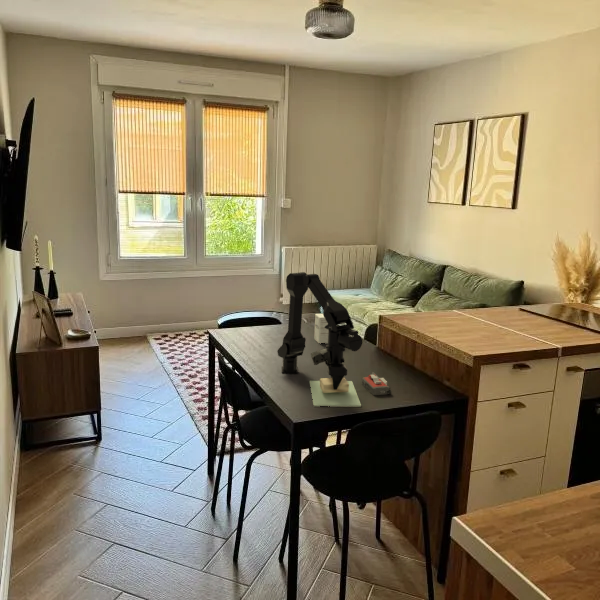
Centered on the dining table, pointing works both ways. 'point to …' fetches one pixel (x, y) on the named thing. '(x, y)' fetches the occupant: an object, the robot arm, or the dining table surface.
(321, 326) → the supplement box
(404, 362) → the dining table surface
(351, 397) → the rubber mat
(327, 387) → the brass block
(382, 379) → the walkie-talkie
